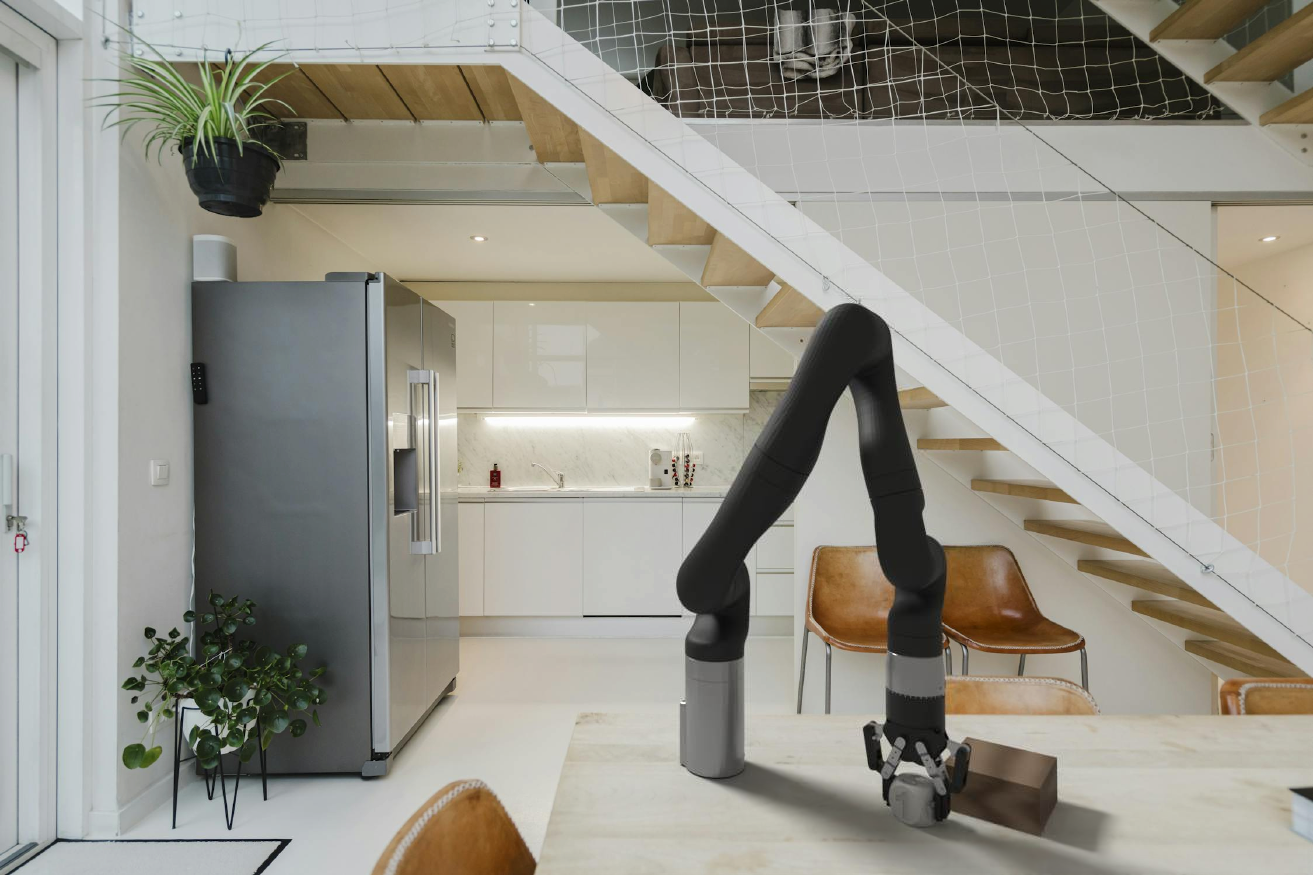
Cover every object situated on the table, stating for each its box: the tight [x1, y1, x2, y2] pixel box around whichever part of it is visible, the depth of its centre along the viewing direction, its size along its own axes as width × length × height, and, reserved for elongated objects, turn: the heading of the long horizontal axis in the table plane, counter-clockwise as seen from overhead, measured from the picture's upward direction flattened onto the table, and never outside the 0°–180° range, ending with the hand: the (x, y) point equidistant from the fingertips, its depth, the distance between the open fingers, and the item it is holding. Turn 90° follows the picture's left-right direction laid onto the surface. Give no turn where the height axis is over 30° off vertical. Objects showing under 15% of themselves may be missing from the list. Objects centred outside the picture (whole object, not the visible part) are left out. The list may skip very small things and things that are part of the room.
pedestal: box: [943, 736, 1059, 837], centre depth 101 cm, size 12×12×6 cm
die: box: [889, 771, 937, 828], centre depth 97 cm, size 5×5×5 cm
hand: (915, 811), depth 97 cm, fingers closed on die, 6 cm apart
